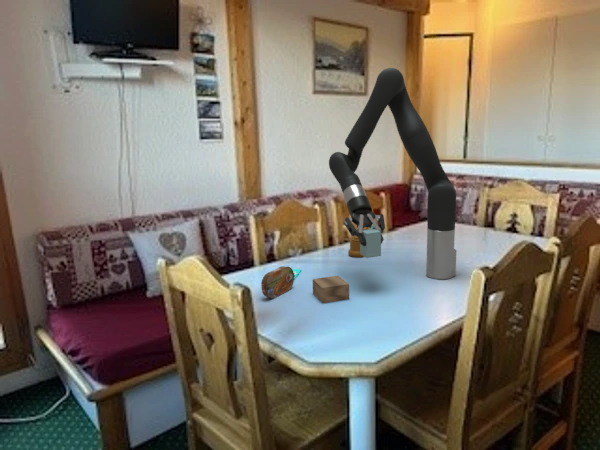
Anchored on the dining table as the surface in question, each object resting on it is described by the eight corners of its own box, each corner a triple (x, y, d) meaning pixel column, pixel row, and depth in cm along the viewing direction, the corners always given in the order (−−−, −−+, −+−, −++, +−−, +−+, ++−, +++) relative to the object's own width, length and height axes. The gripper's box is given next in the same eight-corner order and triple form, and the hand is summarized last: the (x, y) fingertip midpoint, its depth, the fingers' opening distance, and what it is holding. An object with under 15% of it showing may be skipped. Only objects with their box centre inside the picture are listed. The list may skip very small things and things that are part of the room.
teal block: (374, 252, 157) (373, 228, 155) (381, 256, 152) (380, 231, 150) (360, 254, 155) (359, 230, 154) (366, 258, 151) (366, 233, 149)
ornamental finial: (365, 258, 192) (347, 257, 194) (367, 253, 199) (349, 252, 201) (365, 239, 190) (346, 238, 192) (367, 234, 197) (349, 234, 199)
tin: (268, 302, 149) (266, 276, 148) (260, 300, 151) (258, 275, 149) (295, 287, 162) (294, 263, 160) (287, 286, 163) (286, 262, 161)
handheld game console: (302, 272, 179) (302, 268, 178) (290, 286, 164) (290, 283, 163) (277, 271, 181) (276, 267, 181) (263, 285, 166) (263, 281, 166)
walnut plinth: (338, 289, 158) (338, 275, 157) (349, 299, 149) (349, 284, 148) (312, 293, 155) (312, 279, 154) (322, 303, 147) (322, 287, 146)
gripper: (340, 196, 155) (355, 240, 146) (379, 192, 159) (397, 235, 150) (334, 209, 161) (349, 252, 152) (372, 205, 165) (389, 247, 156)
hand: (373, 243), depth 151 cm, fingers closed on teal block, 5 cm apart
